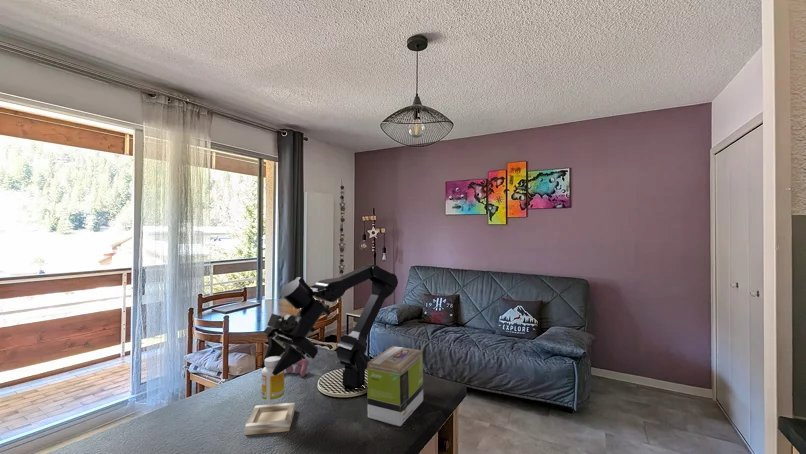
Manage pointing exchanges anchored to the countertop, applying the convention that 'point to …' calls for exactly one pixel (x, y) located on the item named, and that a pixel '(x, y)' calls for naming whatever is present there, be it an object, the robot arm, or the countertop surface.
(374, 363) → the tea box
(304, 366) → the pink legged piece
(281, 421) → the recess plate
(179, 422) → the countertop surface
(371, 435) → the countertop surface
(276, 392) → the supplement bottle
